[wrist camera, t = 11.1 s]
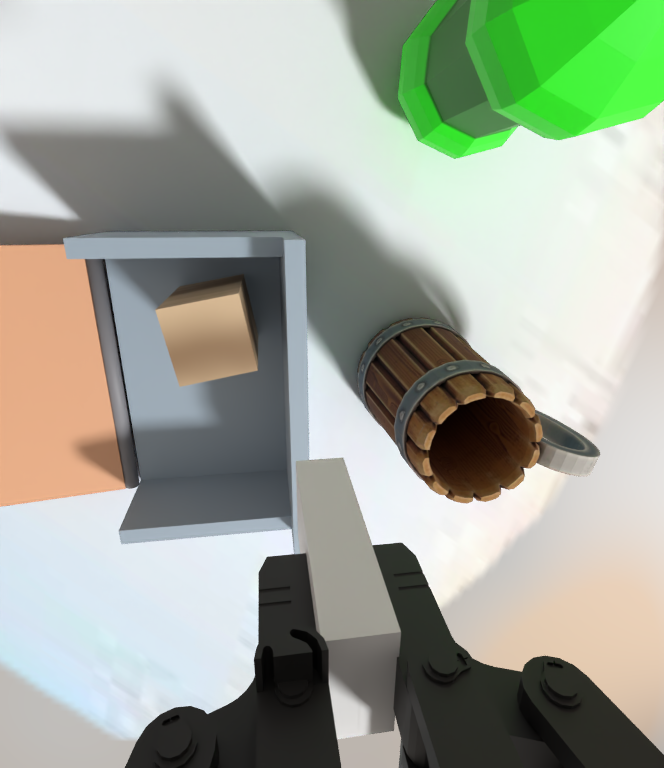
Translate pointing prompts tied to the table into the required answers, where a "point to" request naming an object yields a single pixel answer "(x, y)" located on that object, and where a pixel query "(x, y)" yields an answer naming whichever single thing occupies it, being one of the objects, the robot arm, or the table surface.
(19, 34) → the table surface
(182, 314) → the wooden block
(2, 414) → the panel
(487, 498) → the mug
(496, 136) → the plastic bottle
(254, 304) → the box
